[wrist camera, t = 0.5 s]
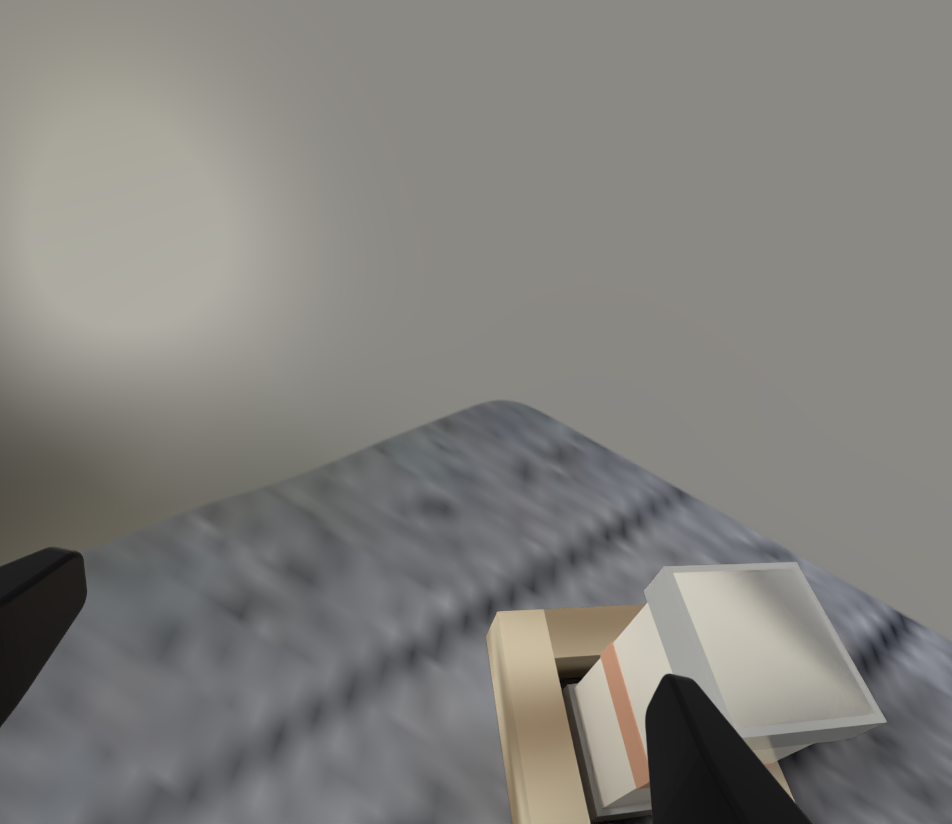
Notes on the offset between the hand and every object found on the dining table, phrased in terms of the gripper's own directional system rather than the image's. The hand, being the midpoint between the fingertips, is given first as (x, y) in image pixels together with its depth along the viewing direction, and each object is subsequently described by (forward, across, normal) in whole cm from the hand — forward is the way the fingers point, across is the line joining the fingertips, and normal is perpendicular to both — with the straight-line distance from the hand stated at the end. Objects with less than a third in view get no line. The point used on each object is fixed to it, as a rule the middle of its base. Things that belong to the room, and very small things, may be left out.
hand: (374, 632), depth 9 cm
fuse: (+9, -10, +14) cm, 19 cm away
